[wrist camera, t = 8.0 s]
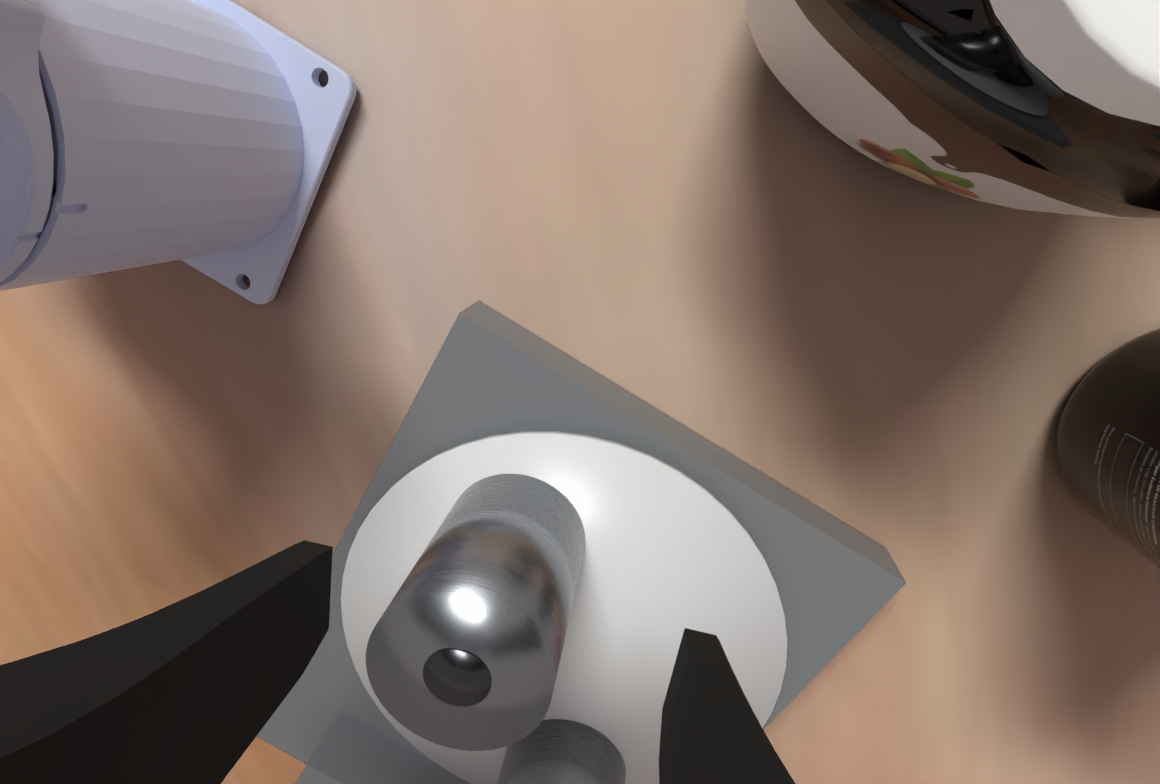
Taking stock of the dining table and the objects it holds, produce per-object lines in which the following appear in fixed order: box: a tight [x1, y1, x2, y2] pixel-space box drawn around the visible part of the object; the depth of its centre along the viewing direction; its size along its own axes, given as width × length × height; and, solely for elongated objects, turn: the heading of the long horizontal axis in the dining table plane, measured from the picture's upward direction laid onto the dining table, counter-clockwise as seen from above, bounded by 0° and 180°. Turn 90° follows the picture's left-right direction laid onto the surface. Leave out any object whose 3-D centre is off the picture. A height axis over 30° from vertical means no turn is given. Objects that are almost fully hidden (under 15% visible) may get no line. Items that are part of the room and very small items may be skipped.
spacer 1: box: [366, 474, 585, 751], centre depth 17 cm, size 4×4×6 cm
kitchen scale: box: [257, 301, 906, 784], centre depth 22 cm, size 16×20×5 cm
